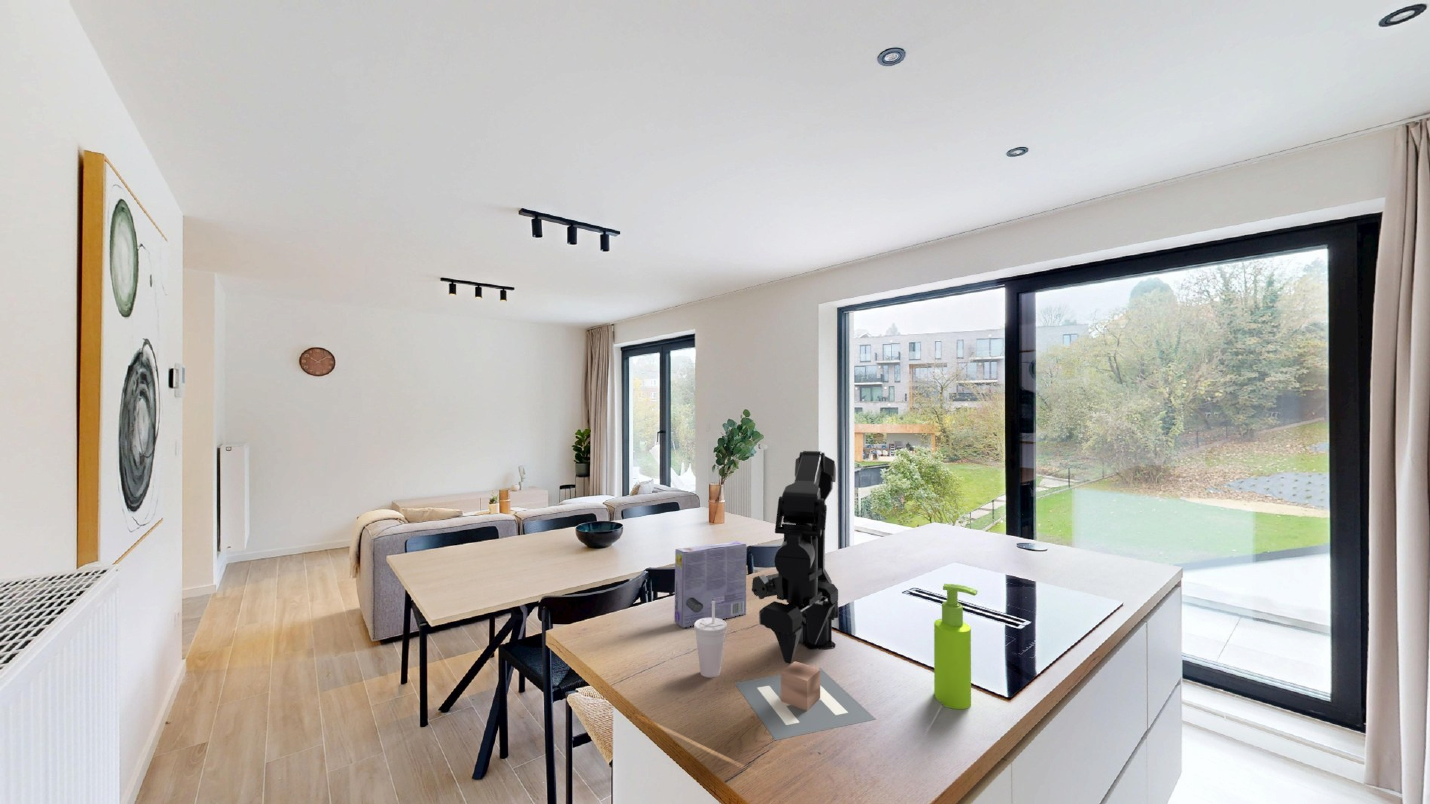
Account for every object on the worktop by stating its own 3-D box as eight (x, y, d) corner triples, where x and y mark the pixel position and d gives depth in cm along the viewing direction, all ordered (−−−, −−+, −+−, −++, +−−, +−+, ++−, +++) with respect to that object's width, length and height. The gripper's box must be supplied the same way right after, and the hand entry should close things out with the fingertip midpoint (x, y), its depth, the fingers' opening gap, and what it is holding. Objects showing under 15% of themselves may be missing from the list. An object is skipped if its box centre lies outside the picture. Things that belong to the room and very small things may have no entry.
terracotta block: (794, 689, 96) (794, 661, 96) (820, 698, 93) (820, 669, 93) (780, 701, 92) (780, 672, 92) (807, 711, 89) (807, 680, 89)
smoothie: (723, 684, 98) (723, 608, 98) (689, 681, 99) (690, 605, 99) (729, 668, 104) (729, 596, 104) (697, 664, 106) (698, 594, 106)
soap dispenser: (975, 715, 88) (975, 594, 89) (931, 702, 92) (931, 587, 92) (979, 699, 93) (979, 584, 94) (937, 687, 97) (937, 578, 97)
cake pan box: (739, 607, 136) (740, 538, 137) (751, 614, 132) (751, 542, 132) (672, 622, 126) (673, 548, 127) (682, 630, 122) (682, 553, 122)
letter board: (820, 670, 104) (820, 668, 104) (876, 721, 86) (876, 719, 87) (734, 684, 98) (734, 682, 98) (775, 742, 81) (775, 740, 81)
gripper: (786, 544, 105) (786, 624, 105) (732, 567, 90) (732, 660, 90) (839, 554, 98) (839, 639, 98) (790, 580, 83) (790, 680, 83)
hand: (800, 653), depth 92 cm, fingers open, 9 cm apart
